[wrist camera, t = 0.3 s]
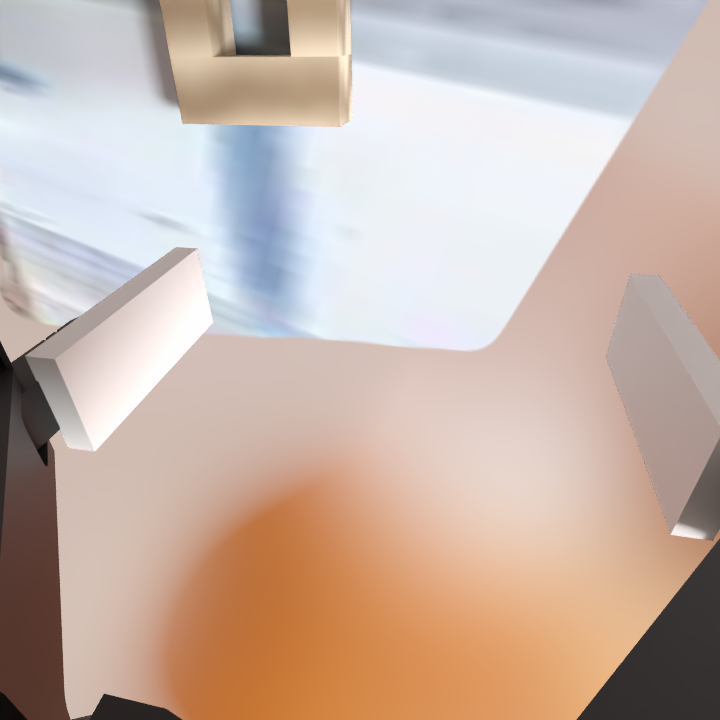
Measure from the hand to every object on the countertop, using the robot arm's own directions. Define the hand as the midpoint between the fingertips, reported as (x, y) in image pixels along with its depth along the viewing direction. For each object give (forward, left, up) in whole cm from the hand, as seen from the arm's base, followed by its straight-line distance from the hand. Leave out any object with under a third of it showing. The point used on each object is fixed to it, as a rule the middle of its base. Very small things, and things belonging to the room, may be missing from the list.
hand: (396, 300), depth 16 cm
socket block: (-9, -13, -27) cm, 31 cm away
